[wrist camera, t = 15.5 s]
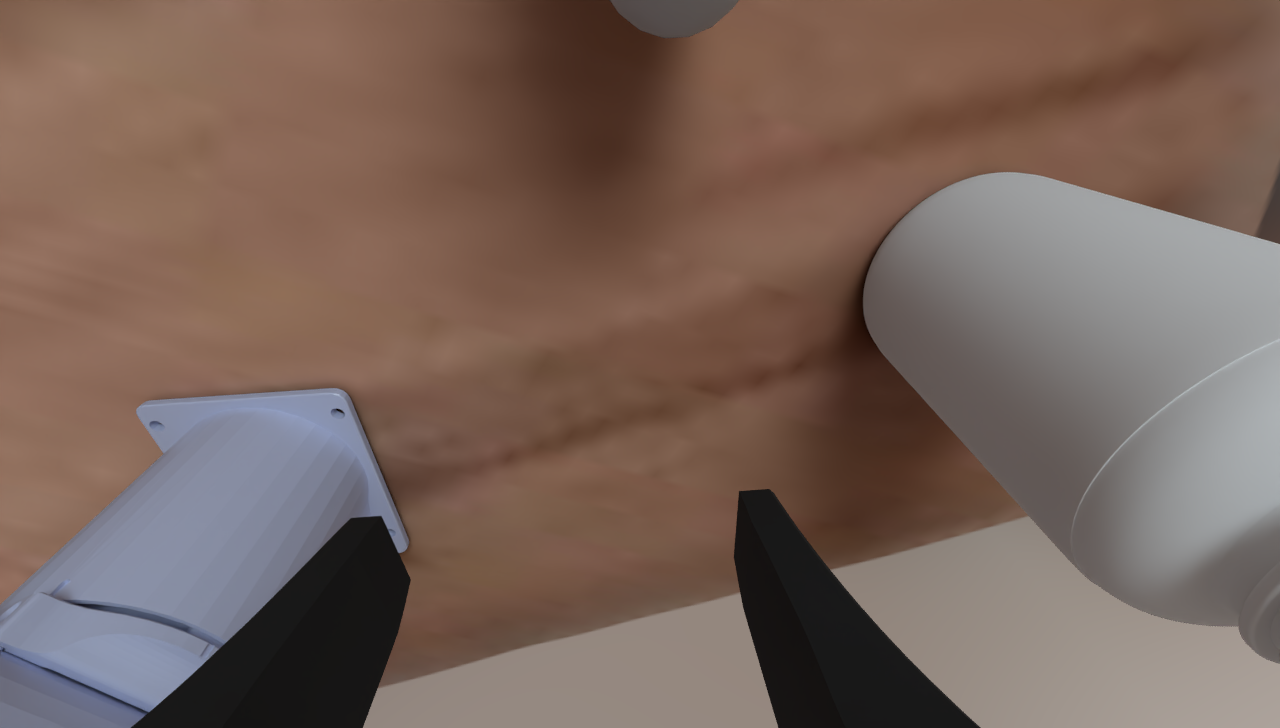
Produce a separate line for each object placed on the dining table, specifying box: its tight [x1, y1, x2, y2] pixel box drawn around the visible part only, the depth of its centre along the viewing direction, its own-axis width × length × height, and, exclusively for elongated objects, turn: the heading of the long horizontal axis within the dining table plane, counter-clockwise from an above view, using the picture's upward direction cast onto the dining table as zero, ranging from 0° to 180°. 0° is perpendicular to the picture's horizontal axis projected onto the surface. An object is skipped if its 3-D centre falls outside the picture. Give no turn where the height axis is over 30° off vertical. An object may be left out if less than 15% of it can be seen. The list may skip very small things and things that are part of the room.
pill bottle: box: [863, 172, 1280, 664], centre depth 13 cm, size 8×8×15 cm
